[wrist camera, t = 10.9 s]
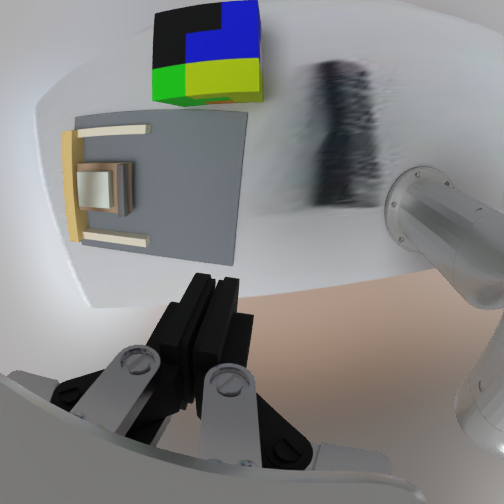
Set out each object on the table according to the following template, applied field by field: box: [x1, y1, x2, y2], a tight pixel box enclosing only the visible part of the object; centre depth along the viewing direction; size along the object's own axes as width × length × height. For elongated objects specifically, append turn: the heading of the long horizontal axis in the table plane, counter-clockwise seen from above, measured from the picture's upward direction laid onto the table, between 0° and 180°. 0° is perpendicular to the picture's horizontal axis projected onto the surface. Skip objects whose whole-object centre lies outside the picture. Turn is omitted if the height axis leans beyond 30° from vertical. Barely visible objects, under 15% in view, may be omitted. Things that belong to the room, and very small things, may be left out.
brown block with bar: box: [77, 162, 133, 218], centre depth 34 cm, size 9×7×4 cm
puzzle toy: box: [152, 0, 263, 107], centre depth 24 cm, size 10×10×10 cm
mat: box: [62, 110, 248, 266], centre depth 34 cm, size 26×21×3 cm
